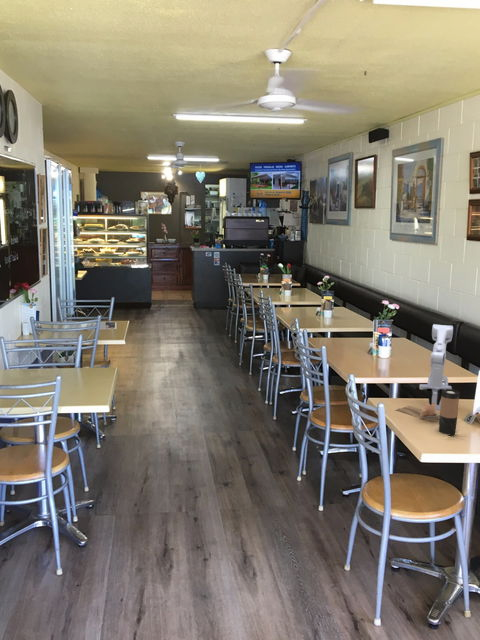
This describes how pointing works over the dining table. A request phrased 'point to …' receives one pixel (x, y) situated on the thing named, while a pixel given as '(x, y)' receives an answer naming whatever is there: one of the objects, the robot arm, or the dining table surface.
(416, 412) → the board
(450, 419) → the travel mug
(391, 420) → the dining table surface
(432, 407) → the cylinder with stick handle
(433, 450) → the dining table surface
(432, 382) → the robot arm
